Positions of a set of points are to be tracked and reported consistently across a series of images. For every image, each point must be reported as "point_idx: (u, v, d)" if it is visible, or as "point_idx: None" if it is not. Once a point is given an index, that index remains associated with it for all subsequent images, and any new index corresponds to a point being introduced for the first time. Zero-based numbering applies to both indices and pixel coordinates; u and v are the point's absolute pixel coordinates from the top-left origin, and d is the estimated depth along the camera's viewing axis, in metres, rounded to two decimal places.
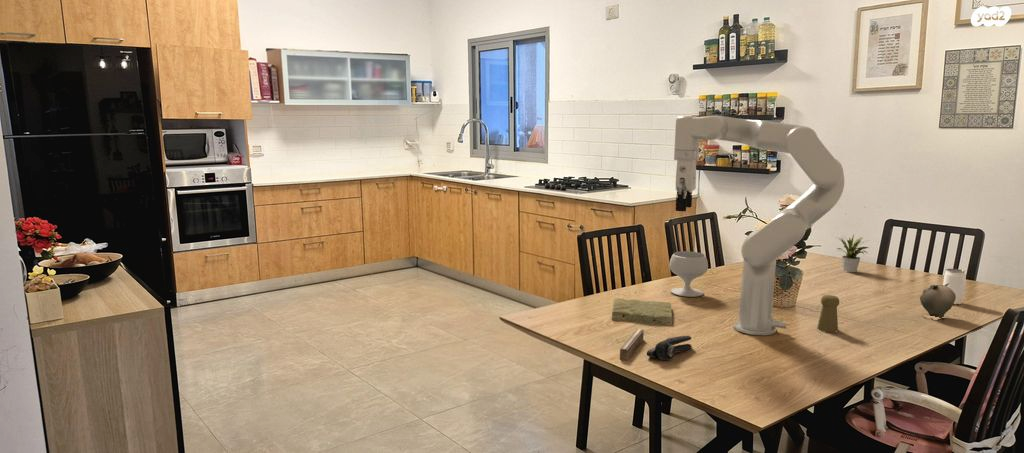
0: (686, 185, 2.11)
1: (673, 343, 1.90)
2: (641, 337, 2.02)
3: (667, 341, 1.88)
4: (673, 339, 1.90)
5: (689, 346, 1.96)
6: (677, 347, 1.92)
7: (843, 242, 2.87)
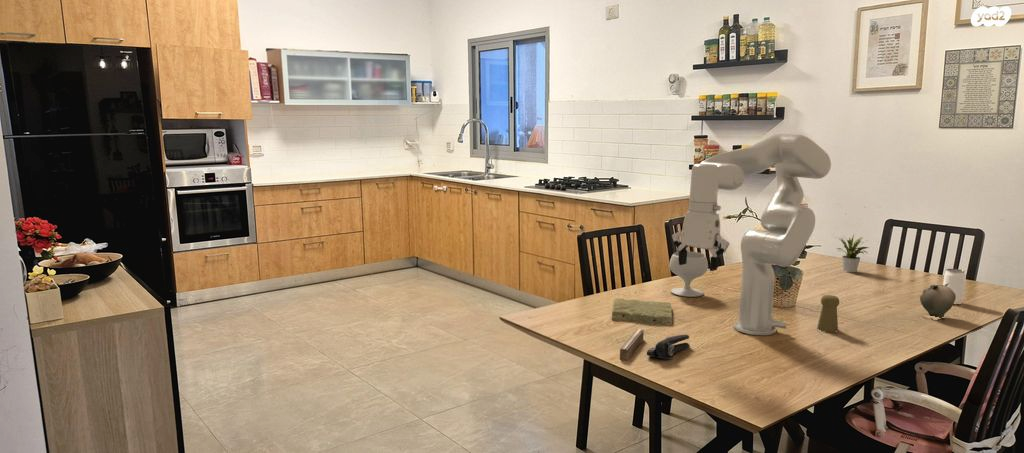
0: None
1: (672, 342, 1.90)
2: (641, 337, 2.02)
3: (667, 340, 1.89)
4: (672, 338, 1.91)
5: (687, 345, 1.97)
6: (676, 346, 1.92)
7: (843, 242, 2.87)
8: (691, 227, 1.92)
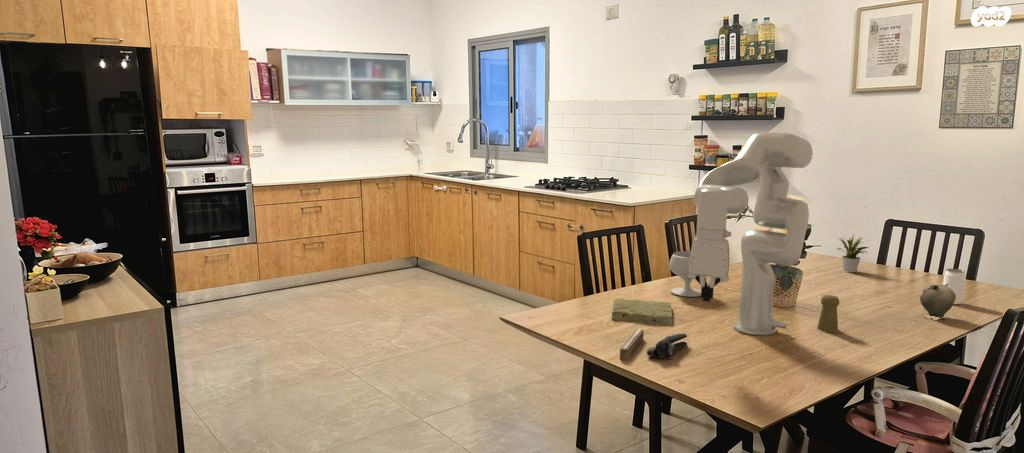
0: None
1: (672, 341, 1.91)
2: (641, 337, 2.02)
3: (667, 340, 1.89)
4: (671, 337, 1.92)
5: (685, 344, 1.98)
6: (675, 345, 1.93)
7: (843, 242, 2.87)
8: (701, 255, 1.82)
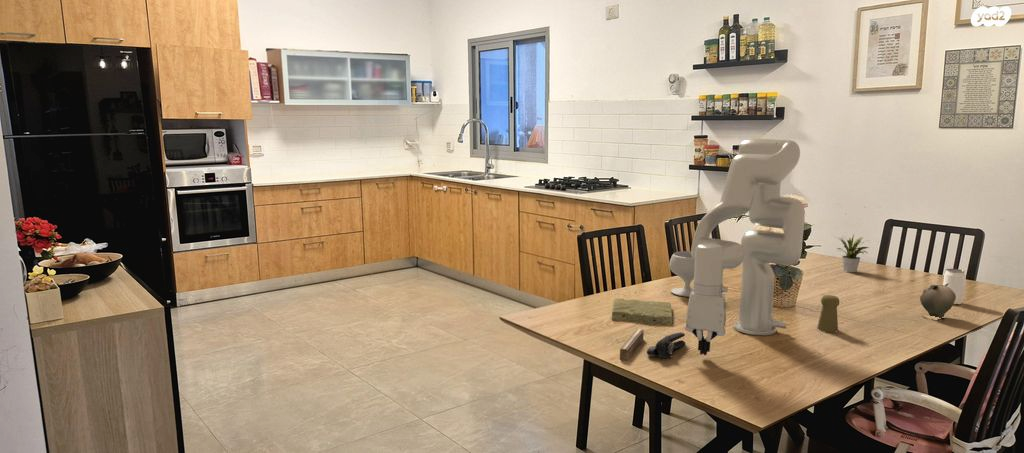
0: None
1: (671, 341, 1.92)
2: (641, 337, 2.02)
3: (666, 339, 1.90)
4: (671, 337, 1.92)
5: (683, 343, 1.99)
6: (674, 344, 1.94)
7: (843, 242, 2.87)
8: (698, 310, 1.85)
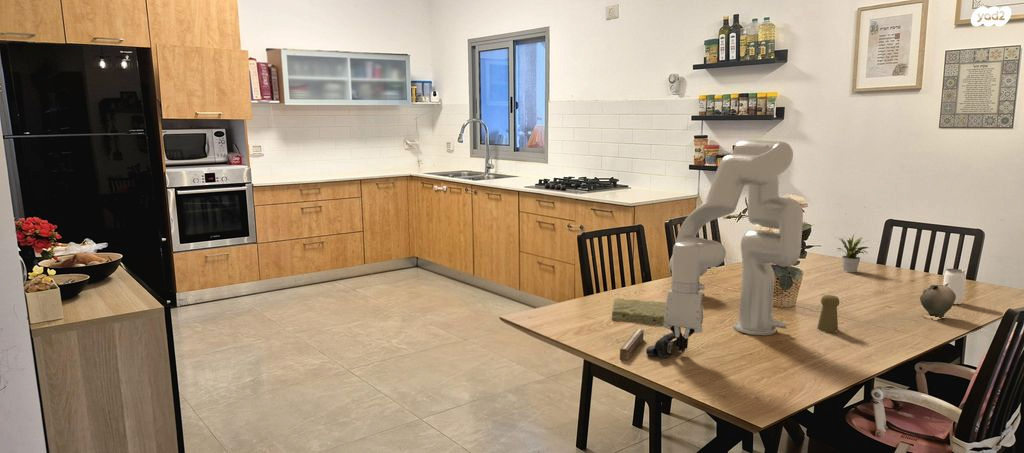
0: None
1: (670, 340, 1.92)
2: (641, 337, 2.02)
3: (665, 338, 1.90)
4: (669, 336, 1.93)
5: None
6: (672, 343, 1.95)
7: (843, 242, 2.87)
8: (676, 307, 1.87)
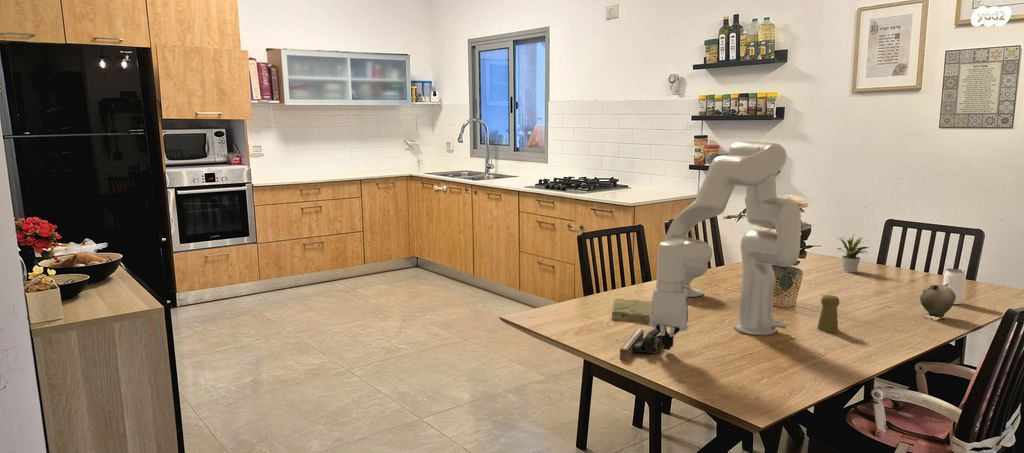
0: None
1: (655, 336, 1.95)
2: (641, 337, 2.02)
3: (651, 334, 1.93)
4: (654, 332, 1.96)
5: None
6: None
7: (843, 242, 2.87)
8: (661, 306, 1.89)
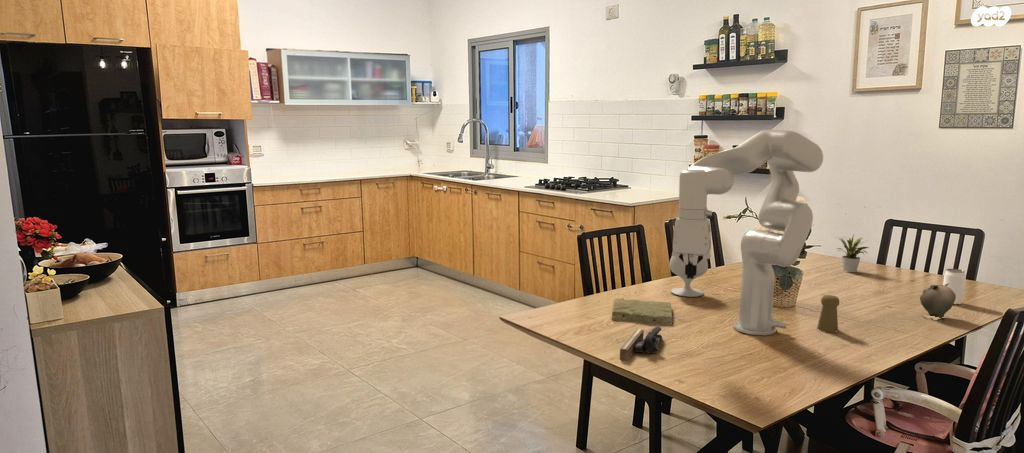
0: None
1: (655, 335, 1.96)
2: (641, 337, 2.02)
3: (652, 334, 1.94)
4: (654, 332, 1.96)
5: (661, 336, 2.04)
6: None
7: (843, 242, 2.87)
8: (684, 235, 1.89)
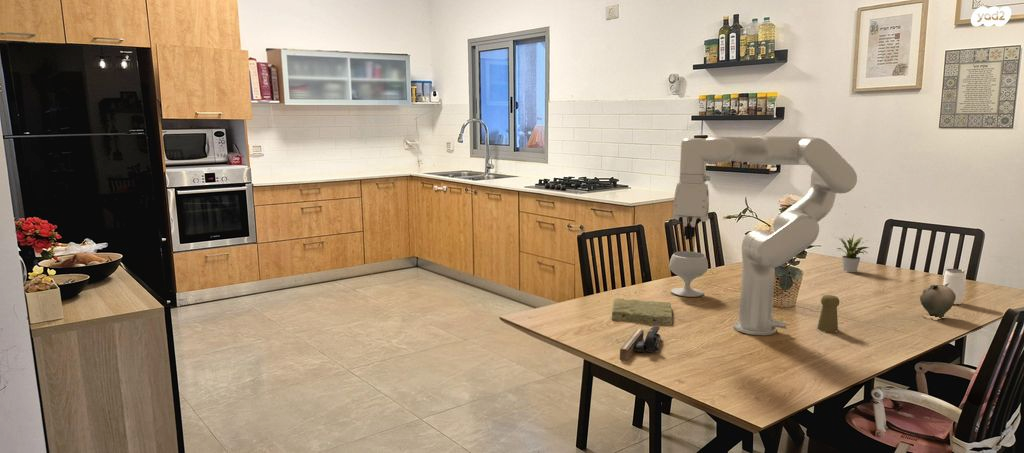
0: None
1: (655, 335, 1.96)
2: (641, 337, 2.02)
3: (652, 334, 1.94)
4: (654, 331, 1.97)
5: (659, 335, 2.05)
6: None
7: (843, 242, 2.87)
8: (684, 198, 2.05)
